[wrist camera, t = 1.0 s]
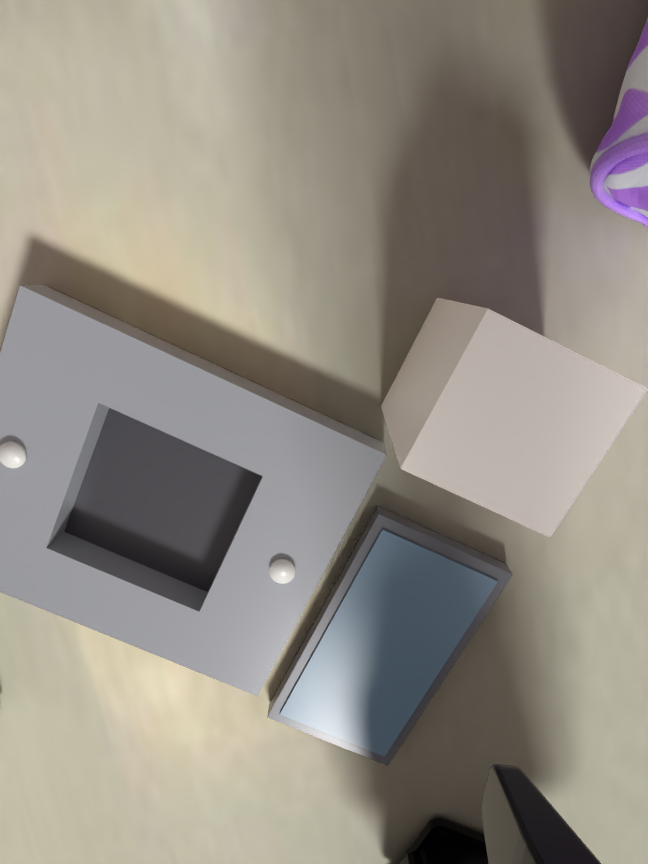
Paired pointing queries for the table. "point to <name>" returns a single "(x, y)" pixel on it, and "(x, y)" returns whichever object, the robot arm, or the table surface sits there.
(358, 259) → the table surface
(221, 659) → the outlet plate
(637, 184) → the pencil case
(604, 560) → the table surface
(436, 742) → the table surface
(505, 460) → the block
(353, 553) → the phone
